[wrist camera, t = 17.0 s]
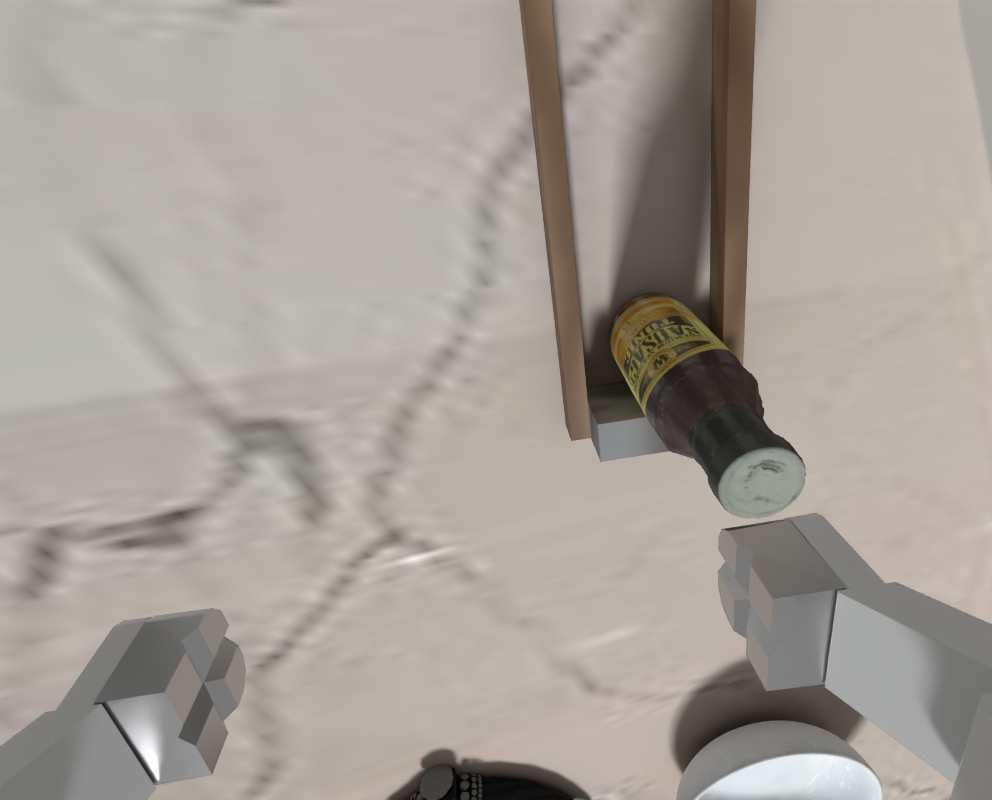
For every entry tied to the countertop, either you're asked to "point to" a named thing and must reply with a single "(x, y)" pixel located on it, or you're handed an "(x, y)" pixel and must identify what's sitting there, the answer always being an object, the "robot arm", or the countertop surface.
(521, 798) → the ring
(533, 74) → the walnut track
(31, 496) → the countertop surface
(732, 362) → the sauce bottle
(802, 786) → the serving bowl
